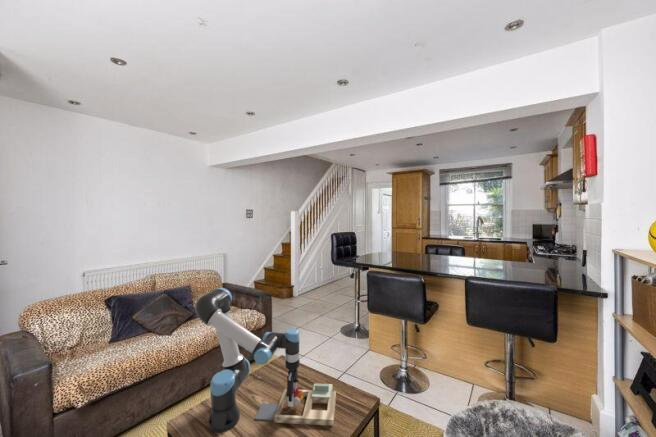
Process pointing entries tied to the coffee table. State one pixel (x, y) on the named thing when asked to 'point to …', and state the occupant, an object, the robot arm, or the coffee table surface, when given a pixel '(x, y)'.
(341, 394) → the coffee table surface
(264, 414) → the mat
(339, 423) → the coffee table surface
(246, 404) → the coffee table surface
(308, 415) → the board
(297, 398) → the rainbow toy vehicle
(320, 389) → the lid
